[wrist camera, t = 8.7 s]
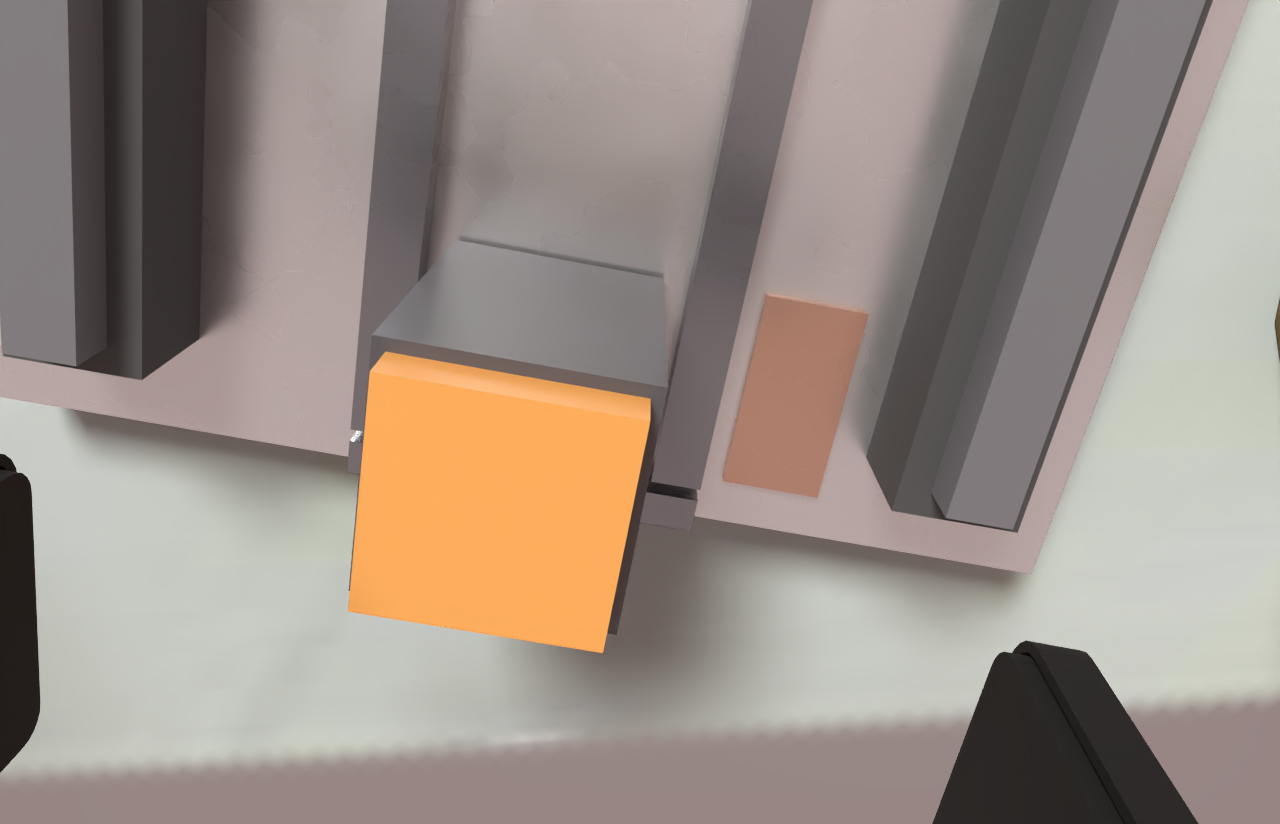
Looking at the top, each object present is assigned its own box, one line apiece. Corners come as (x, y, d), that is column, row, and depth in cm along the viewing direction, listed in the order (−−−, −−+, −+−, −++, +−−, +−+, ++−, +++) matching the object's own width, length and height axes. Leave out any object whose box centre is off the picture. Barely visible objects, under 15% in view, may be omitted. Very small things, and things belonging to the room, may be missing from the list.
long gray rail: (76, 317, 20) (-34, 375, 17) (59, -425, 15) (-95, -538, 12) (978, 476, 21) (1036, 560, 18) (1203, -177, 16) (1333, -223, 13)
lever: (432, 432, 20) (332, 621, 14) (455, 239, 19) (354, 353, 13) (626, 466, 21) (614, 667, 14) (664, 278, 19) (669, 408, 13)
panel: (44, 363, 22) (-37, 409, 20) (11, -549, 16) (-110, -653, 14) (1001, 529, 23) (1044, 594, 21) (1286, -264, 18) (1396, -313, 15)
